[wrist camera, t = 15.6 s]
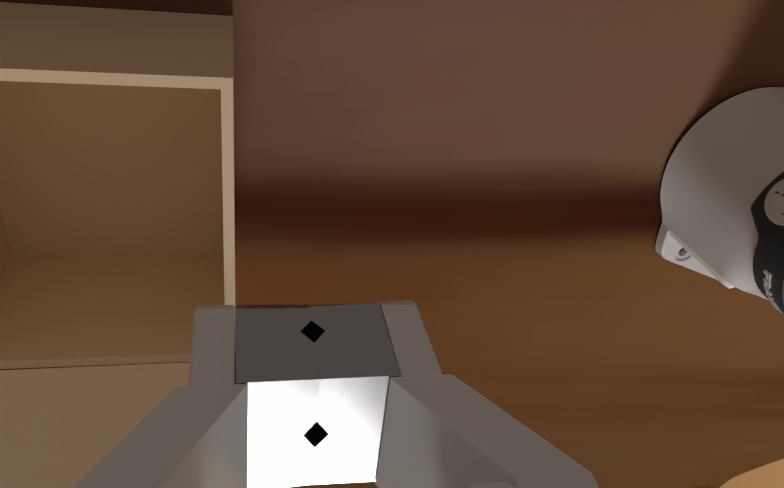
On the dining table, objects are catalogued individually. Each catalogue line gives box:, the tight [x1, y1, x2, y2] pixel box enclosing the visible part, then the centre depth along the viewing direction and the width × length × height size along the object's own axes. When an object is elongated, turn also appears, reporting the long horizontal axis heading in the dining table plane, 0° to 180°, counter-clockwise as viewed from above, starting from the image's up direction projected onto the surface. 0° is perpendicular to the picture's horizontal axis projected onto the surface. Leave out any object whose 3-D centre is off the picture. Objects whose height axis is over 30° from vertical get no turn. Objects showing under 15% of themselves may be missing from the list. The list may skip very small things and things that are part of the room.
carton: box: [0, 2, 235, 369], centre depth 43 cm, size 18×16×12 cm
